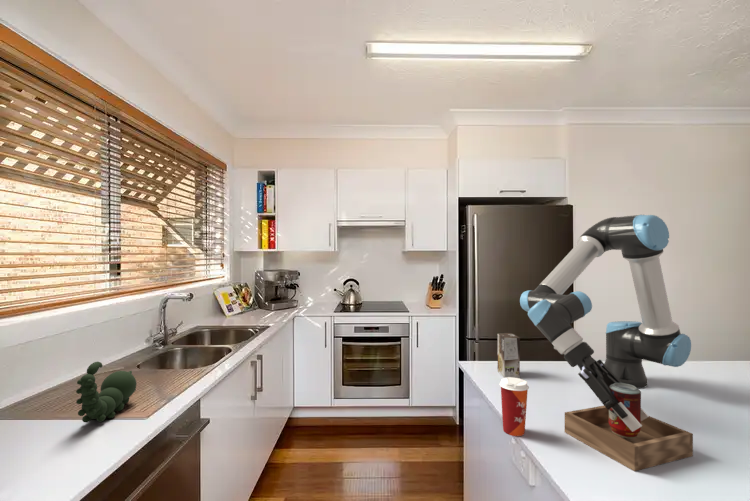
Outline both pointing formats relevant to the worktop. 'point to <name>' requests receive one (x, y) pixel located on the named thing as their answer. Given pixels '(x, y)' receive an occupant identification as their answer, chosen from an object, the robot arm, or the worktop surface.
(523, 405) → the paper cup
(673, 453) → the walnut box
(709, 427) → the worktop surface
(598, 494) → the worktop surface
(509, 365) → the coffee box
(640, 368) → the robot arm
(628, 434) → the soda can
